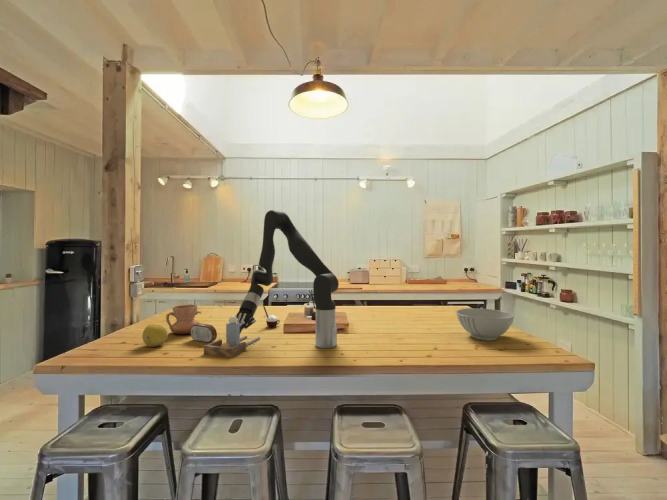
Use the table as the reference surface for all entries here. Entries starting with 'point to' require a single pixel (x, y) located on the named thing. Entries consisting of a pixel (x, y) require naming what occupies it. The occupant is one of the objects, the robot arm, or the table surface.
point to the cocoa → (271, 320)
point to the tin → (203, 332)
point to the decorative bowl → (484, 322)
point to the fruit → (154, 335)
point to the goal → (223, 349)
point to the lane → (250, 341)
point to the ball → (225, 345)
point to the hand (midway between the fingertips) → (235, 335)
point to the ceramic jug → (183, 318)
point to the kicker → (233, 332)
